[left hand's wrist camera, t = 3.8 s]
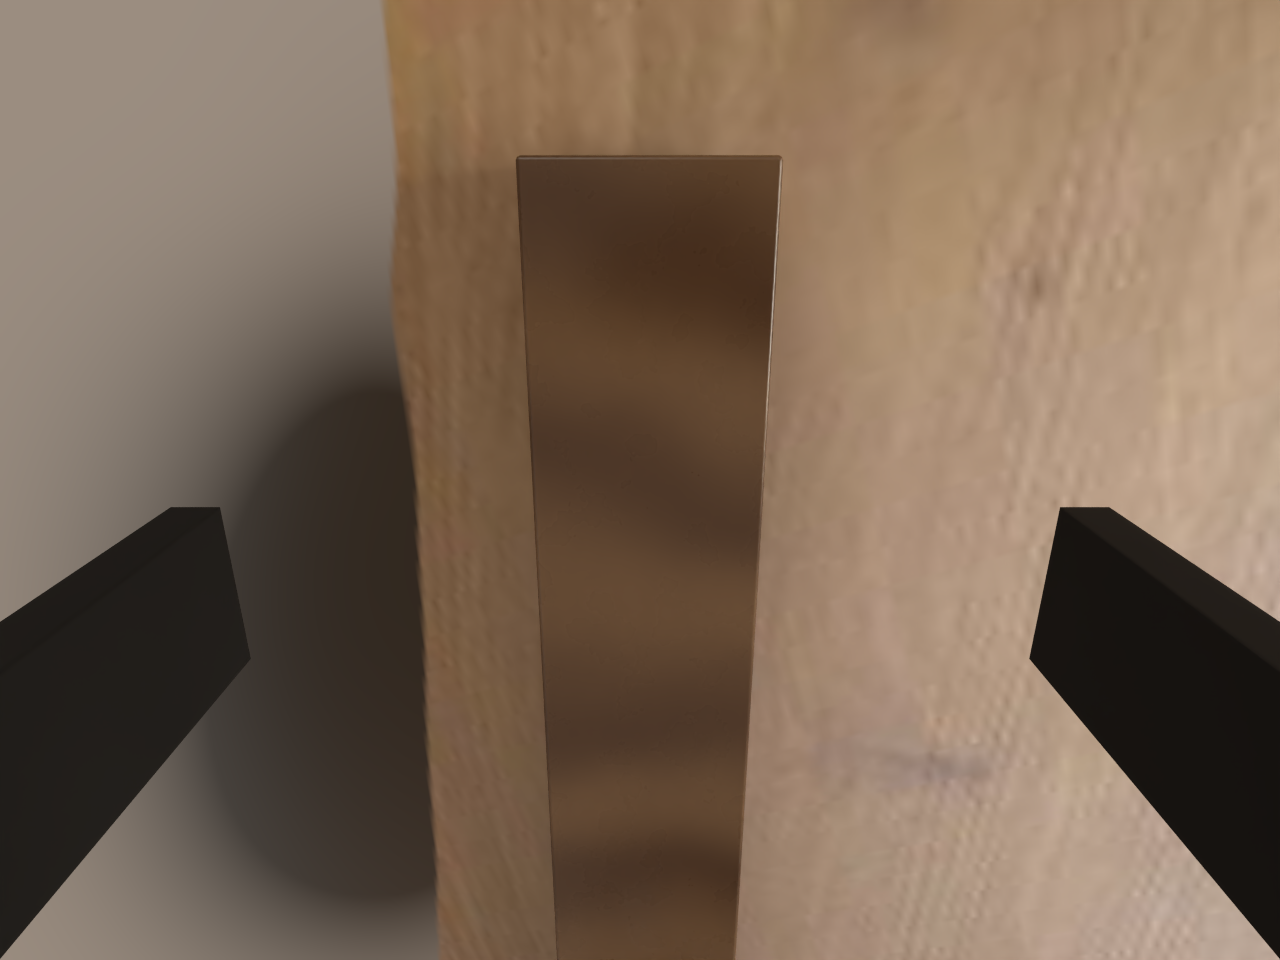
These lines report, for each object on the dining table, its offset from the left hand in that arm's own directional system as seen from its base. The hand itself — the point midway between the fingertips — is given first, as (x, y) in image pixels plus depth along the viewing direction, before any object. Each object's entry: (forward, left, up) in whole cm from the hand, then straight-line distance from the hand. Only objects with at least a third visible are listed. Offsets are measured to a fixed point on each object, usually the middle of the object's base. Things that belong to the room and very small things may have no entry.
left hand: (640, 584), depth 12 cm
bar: (+20, +4, -14) cm, 25 cm away
